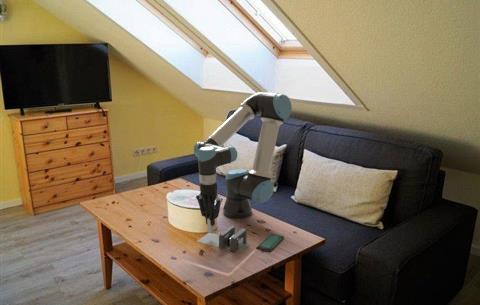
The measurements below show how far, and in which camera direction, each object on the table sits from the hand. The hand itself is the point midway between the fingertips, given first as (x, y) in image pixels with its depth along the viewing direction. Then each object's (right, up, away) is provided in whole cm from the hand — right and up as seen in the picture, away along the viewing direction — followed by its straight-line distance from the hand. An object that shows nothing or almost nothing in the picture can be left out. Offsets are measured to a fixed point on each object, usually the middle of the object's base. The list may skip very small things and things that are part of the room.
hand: (210, 231), depth 178 cm
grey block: (+9, -5, -5) cm, 12 cm away
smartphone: (+27, -5, -2) cm, 27 cm away
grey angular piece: (+6, -5, -3) cm, 8 cm away
